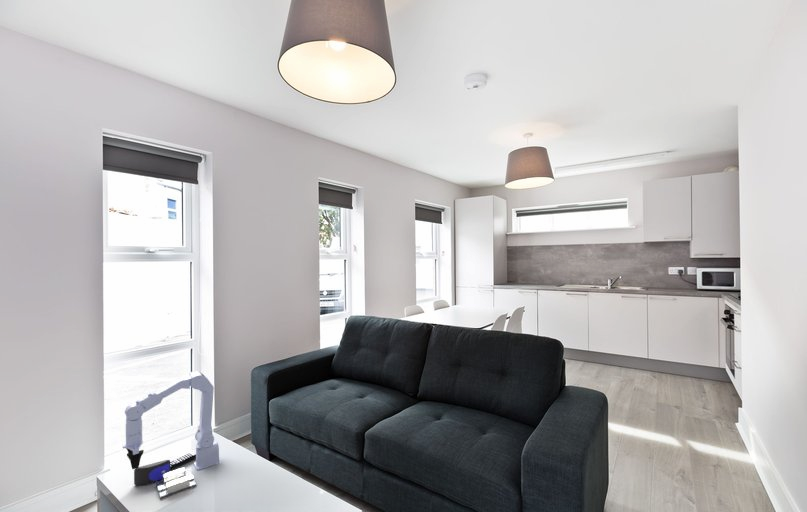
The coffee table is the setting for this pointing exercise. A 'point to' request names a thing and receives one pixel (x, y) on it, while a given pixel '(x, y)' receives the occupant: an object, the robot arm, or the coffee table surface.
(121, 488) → the coffee table surface
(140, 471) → the leaning round-cornered charcoal block
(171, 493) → the rail plate
